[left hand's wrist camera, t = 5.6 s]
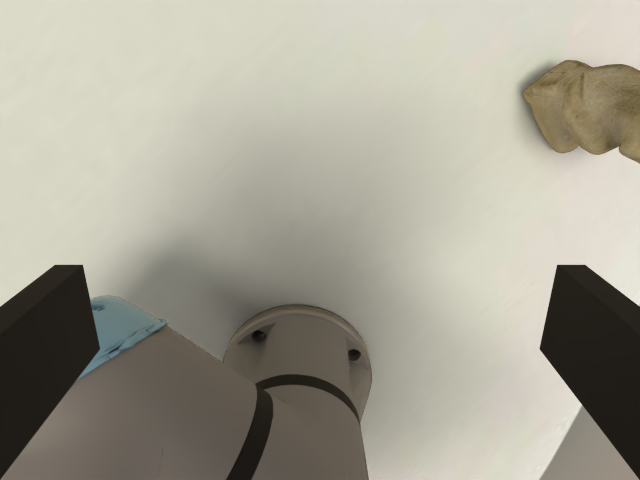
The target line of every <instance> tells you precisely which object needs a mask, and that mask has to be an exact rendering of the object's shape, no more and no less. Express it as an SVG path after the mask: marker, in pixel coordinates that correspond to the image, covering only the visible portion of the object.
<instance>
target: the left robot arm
mask: <svg viewBox="0 0 640 480" xmlns="http://www.w3.org/2000/svg"><path fill="white" fill-rule="evenodd" d="M167 324H168V322H166V321H165V320H163V319H160V320H158V319H156V318H154V317H153V316H151V315H149V314H148V313H146V312H144V311H142V310H141V309H139V308H137V307H135V306H134V305H132V304H130V303H129V302H127V301H125V300H123V299H121V298H119V297H115V296H100V297H95V298H93V299H90V297H89V292H88V288H87V283H86V278H85V273H84V269H83V265H54V266H53V267H52V268H50V269H49V270H48V271H46V272H45V273H44V274H43V275H41V276H40V277H39V278H37V279H36V280H35V281H33V282H32V283H31V284H29V285H28V286H27V287H26V288H24V289H23V290H22V291H20V292H19V293H18V294H16V295H15V296H14V297H13V298H11V299H10V300H9V301H7V302H6V303H5V304H3V305H2V306H1V307H0V480H369V478H368V472H367V465H366V459H365V452H364V446H363V439H362V433H361V427H360V421H361V418H362V415H363V412H364V408H365V405H366V402H367V399H368V395H369V392H370V388H371V382H372V373H371V366H370V361H369V356H368V352H367V349H366V346H365V344H364V342H363V340H362V339H361V337H360V335H359V334H358V333H357V332H356V330H355V329H354V328H353V327H352V326H351V325H350V324H348V323H347V322H346V321H345V320H343V319H342V318H340V317H339V316H337V315H335V314H333V313H331V312H329V311H326V310H323V309H320V308H316V307H311V306H302V305H290V306H282V307H277V308H273V309H270V310H267V311H264V312H262V313H260V314H258V315H256V316H254V317H253V318H251V319H250V320H248V321H247V322H246V323H244V324H243V325H242V326H241V327H240V328H239V329H238V331H237V332H236V333H235V334H234V336H233V337H232V339H231V341H230V343H229V345H228V347H227V350H226V353H225V356H224V359H223V363H222V362H221V361H219V360H218V359H216V358H215V357H213V356H212V355H210V354H209V353H207V352H206V351H204V350H203V349H201V348H200V347H198V346H197V345H195V344H194V343H192V342H191V341H189V340H188V339H186V338H185V337H183V336H182V335H180V334H179V333H177V332H176V331H174V330H173V329H171V328H170V327H168V326H167ZM540 350H541V351H542V353H543V354H544V355H545V357H546V358H547V359H548V361H549V362H550V363H551V364H552V366H553V367H554V368H555V370H556V371H557V372H558V374H559V375H560V376H561V378H562V379H563V380H564V381H565V383H566V384H567V385H568V387H569V388H570V389H571V391H572V392H573V393H574V395H575V396H576V397H577V398H578V400H579V401H580V402H581V404H582V405H583V406H584V408H585V409H586V410H587V412H588V413H589V414H590V415H591V417H592V418H593V419H594V421H595V422H596V423H597V425H598V426H599V427H600V429H601V430H602V431H603V432H604V434H605V435H606V436H607V438H608V439H609V440H610V442H611V443H612V444H613V445H614V447H615V448H616V449H617V451H618V452H619V453H620V455H621V456H622V457H623V459H624V460H625V461H626V462H627V464H628V465H629V466H630V468H631V469H632V470H633V472H634V473H635V474H636V476H637V477H638V478H639V480H640V307H639V306H638V305H637V304H635V303H634V302H633V301H631V300H630V299H629V298H627V297H626V296H625V295H624V294H622V293H621V292H620V291H618V290H617V289H616V288H614V287H613V286H612V285H611V284H609V283H608V282H607V281H605V280H604V279H603V278H601V277H600V276H599V275H597V274H596V273H595V272H594V271H592V270H591V269H590V268H588V267H587V266H586V265H557V269H556V273H555V278H554V283H553V288H552V292H551V297H550V302H549V307H548V312H547V316H546V321H545V326H544V331H543V335H542V340H541V345H540Z"/></svg>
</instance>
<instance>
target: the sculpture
mask: <svg viewBox="0 0 640 480" xmlns="http://www.w3.org/2000/svg"><path fill="white" fill-rule="evenodd" d="M523 96H524V98H525V100H526V102H527V103H529V104H530V106H531V108H532V111H533V115H534V118H535V120H536V122H537V124H538V126H539V128H540V130H541V132H542V134H543V136H544V137H545V139H546V141H547V142H548V143H549V145H550V146H551V147H552V148H553V149H554V150H555V151H556V152H559V153H567V152H570V151H572V150H574V149H575V148H577V146H578V145H579V146H580V147H581V148H583V149H584V150H586V151H588V152H589V153H591V154H595V155H600V154H603V153H606V152H608V151H610V150H612V149H614V148H616V147H618V146H619V152H620V153H621V154H622V155H624V156H626V157H628V158H630V159H632V160H634V161H636V162H638V163H640V71H639V70H637V69H635V68H633V67H631V66H628V65H623V64H614V65H605V66H600V67H595V68H593V67H590V66H589V65H587V64H585V63H582V62H579V61H575V60H573V61H572V60H565V61H563V62H562V63H560V64H558V65H557V66H555V67H554V68H552V69H551V70H550V71H548V72H547V73H546V74H544V75H543V76H542V77H541V78H540V79H539V80H538V81H537V82H536V83H534V84H532V85H531V86H530V87H529V88H527V89H526V90H525V91H524V93H523Z"/></svg>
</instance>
